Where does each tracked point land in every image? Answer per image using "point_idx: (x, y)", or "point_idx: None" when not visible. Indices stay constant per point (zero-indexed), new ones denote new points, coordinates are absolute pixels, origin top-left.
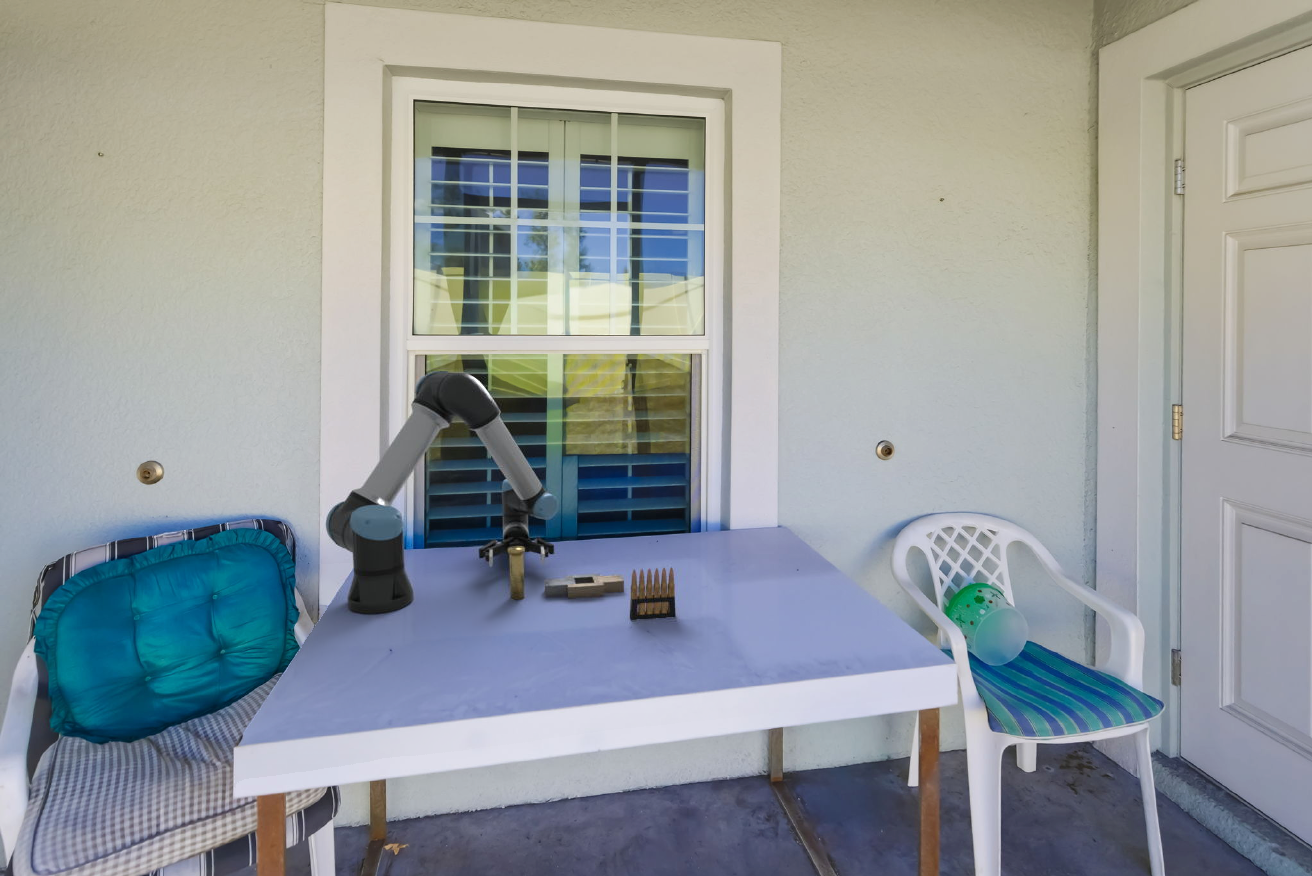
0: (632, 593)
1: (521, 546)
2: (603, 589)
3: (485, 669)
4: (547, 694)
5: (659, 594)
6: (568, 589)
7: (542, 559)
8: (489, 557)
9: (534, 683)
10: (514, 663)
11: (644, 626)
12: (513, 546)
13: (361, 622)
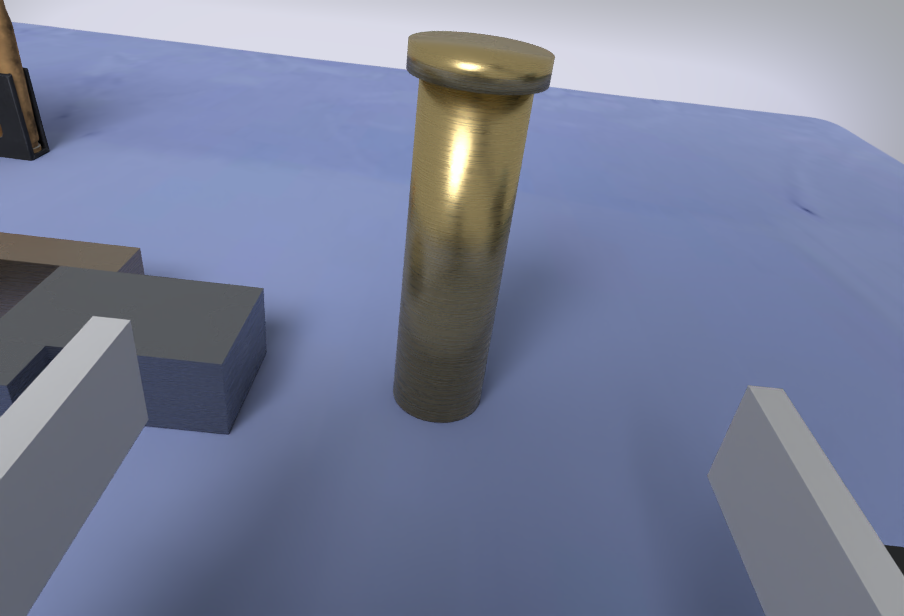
0: (16, 44)
1: (433, 50)
2: None
3: (531, 127)
4: (414, 80)
5: None
6: (140, 259)
7: (136, 379)
8: (777, 395)
9: None
10: None
11: (46, 128)
12: (508, 63)
13: None
